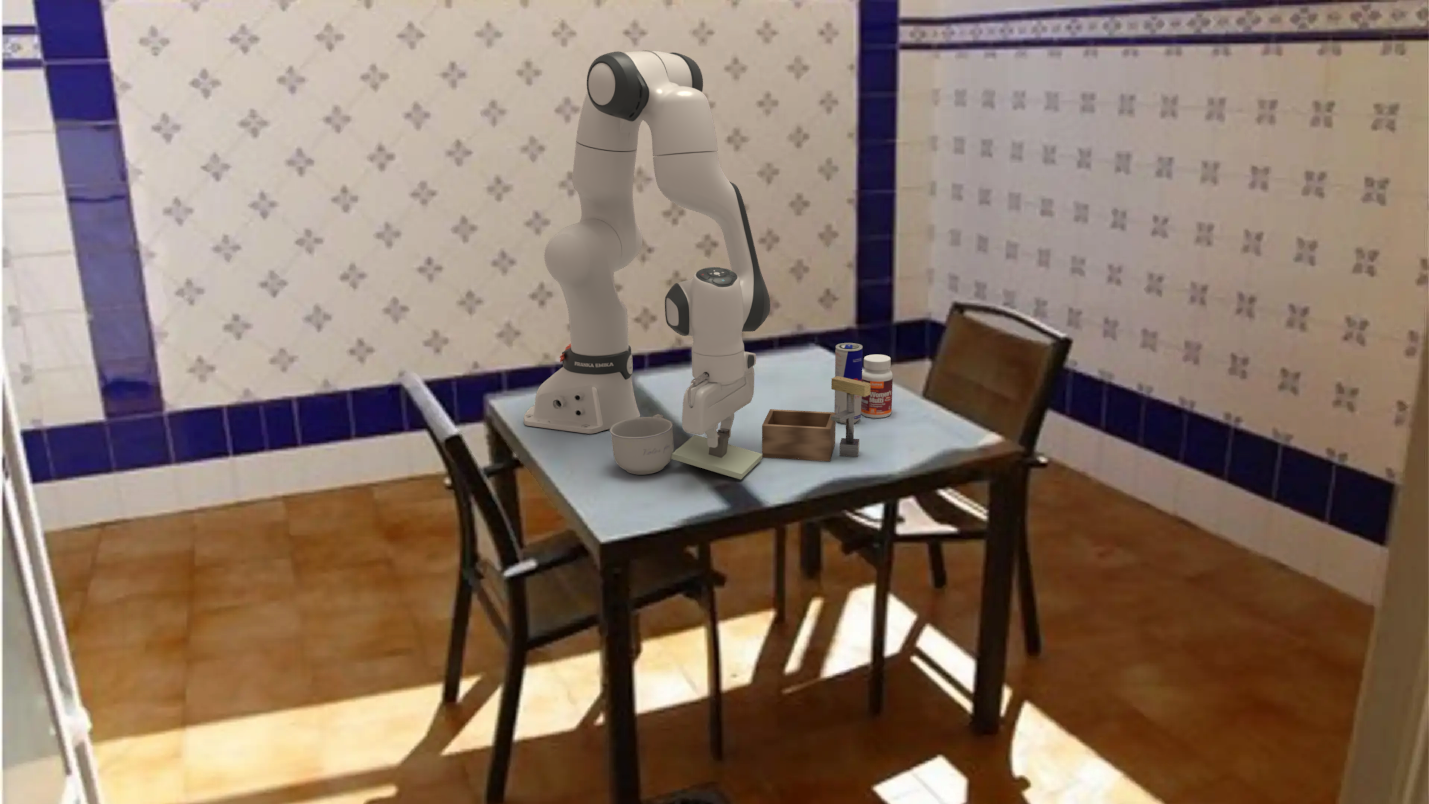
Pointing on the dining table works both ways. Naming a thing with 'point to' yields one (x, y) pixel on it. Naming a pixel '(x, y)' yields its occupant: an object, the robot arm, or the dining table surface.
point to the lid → (717, 456)
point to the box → (798, 435)
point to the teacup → (642, 444)
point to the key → (849, 401)
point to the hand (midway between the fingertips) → (719, 442)
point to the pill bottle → (877, 386)
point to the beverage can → (848, 374)
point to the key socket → (849, 448)
